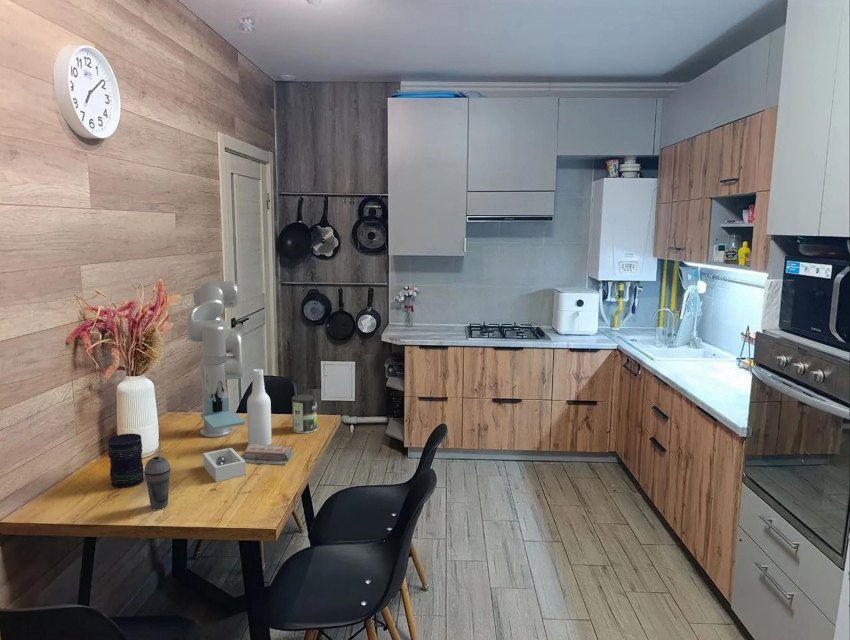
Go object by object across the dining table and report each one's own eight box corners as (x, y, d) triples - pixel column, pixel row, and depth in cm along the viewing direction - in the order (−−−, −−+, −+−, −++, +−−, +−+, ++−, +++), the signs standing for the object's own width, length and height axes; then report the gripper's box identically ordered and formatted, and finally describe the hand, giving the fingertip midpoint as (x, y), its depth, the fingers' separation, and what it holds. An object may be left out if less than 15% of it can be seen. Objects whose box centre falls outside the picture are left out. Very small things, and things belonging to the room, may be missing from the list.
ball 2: (214, 469, 201) (213, 461, 200) (222, 467, 203) (222, 459, 202) (216, 472, 198) (216, 463, 198) (225, 470, 200) (225, 462, 200)
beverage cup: (146, 503, 177) (143, 440, 174) (172, 499, 180) (169, 437, 177) (145, 514, 170) (141, 449, 167) (172, 509, 173) (169, 445, 170)
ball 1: (215, 464, 205) (214, 456, 204) (223, 462, 207) (223, 454, 206) (217, 467, 202) (217, 459, 202) (226, 465, 204) (226, 457, 204)
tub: (203, 466, 205) (202, 453, 204) (232, 460, 210) (231, 447, 210) (215, 482, 193) (215, 467, 192) (245, 475, 198) (245, 461, 198)
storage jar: (105, 482, 191) (102, 438, 189) (135, 473, 198) (133, 431, 196) (118, 491, 185) (115, 446, 182) (149, 481, 192) (147, 438, 190)
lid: (200, 416, 202) (200, 400, 201) (230, 411, 208) (230, 395, 207) (213, 430, 190) (212, 412, 189) (245, 424, 196) (244, 407, 195)
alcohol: (270, 439, 232) (268, 366, 228) (272, 447, 224) (271, 371, 219) (247, 442, 229) (245, 368, 224) (249, 450, 221) (246, 373, 216)
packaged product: (294, 443, 217) (285, 453, 207) (294, 455, 217) (285, 466, 208) (248, 440, 219) (237, 450, 209) (249, 452, 219) (237, 463, 210)
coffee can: (319, 425, 250) (319, 393, 248) (314, 433, 240) (314, 400, 237) (295, 425, 250) (295, 393, 248) (289, 433, 240) (289, 400, 238)
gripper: (197, 356, 205) (199, 406, 208) (210, 366, 193) (212, 419, 196) (218, 353, 210) (220, 402, 213) (232, 363, 197) (234, 415, 200)
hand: (216, 410), depth 204 cm, fingers closed on lid
